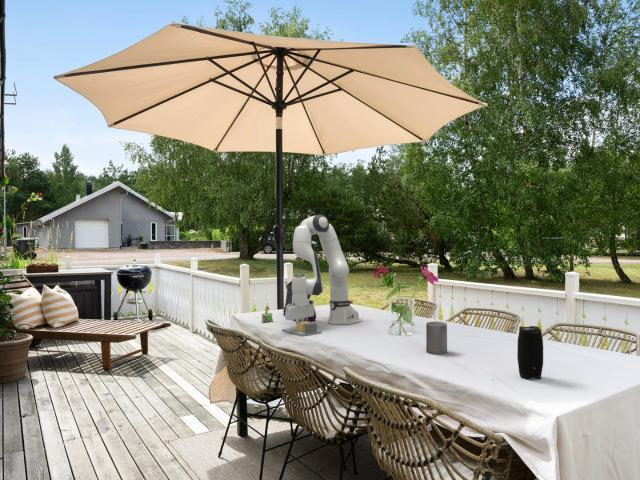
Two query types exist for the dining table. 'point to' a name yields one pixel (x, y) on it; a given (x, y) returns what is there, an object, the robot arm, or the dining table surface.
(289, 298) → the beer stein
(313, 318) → the mounting bracket
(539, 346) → the portable speaker
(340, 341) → the dining table surface
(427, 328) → the pillar candle
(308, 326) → the backplate
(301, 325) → the module
